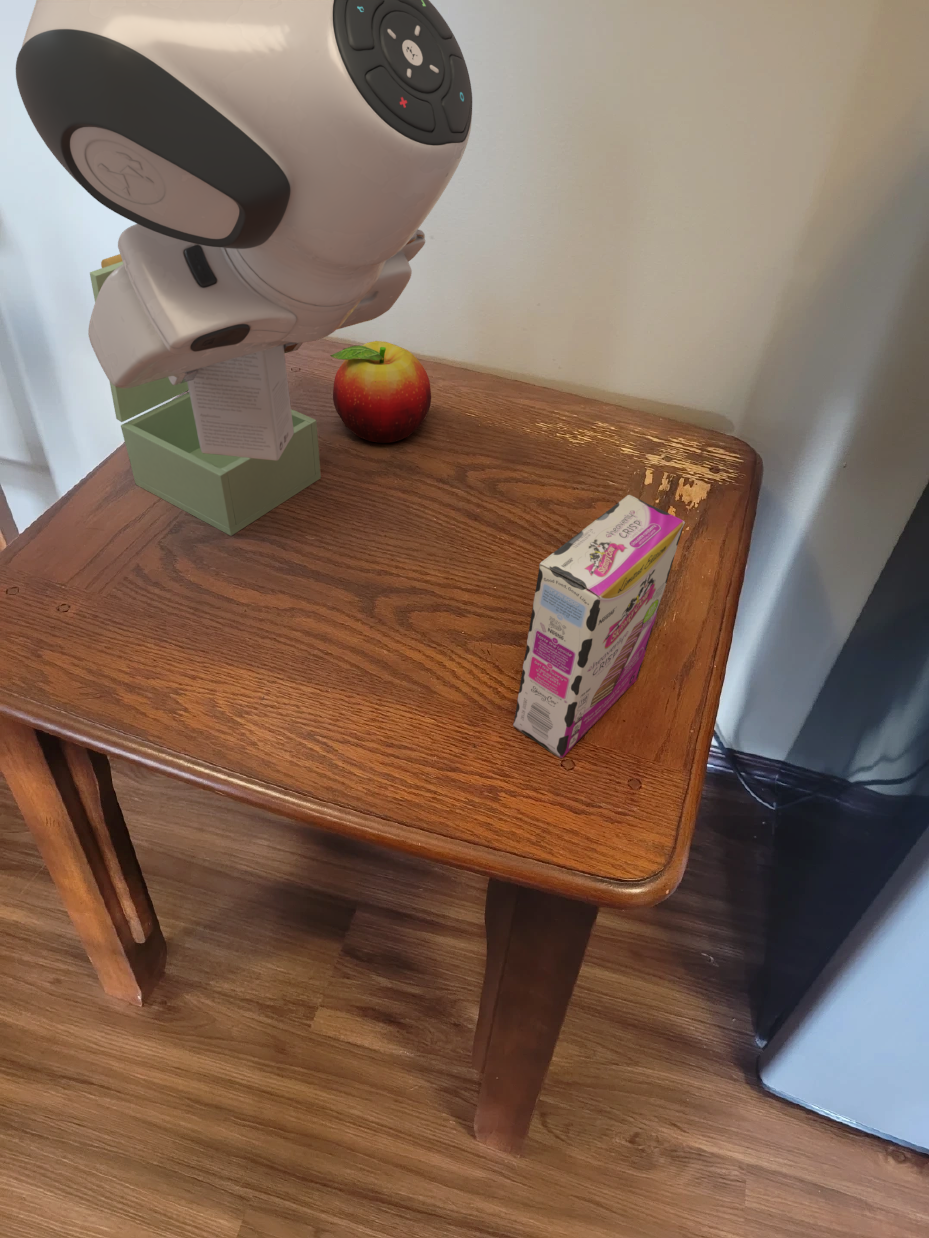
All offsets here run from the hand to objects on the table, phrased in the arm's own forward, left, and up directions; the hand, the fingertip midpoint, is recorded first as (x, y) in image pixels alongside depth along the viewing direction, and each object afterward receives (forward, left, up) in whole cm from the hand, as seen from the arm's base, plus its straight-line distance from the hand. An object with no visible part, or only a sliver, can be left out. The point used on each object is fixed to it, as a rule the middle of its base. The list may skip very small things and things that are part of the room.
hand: (230, 357), depth 60 cm
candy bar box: (+20, -21, -22) cm, 37 cm away
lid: (-3, +23, -8) cm, 24 cm away
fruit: (+18, +23, -22) cm, 37 cm away
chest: (0, +18, -22) cm, 29 cm away
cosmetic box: (0, -1, -7) cm, 7 cm away
